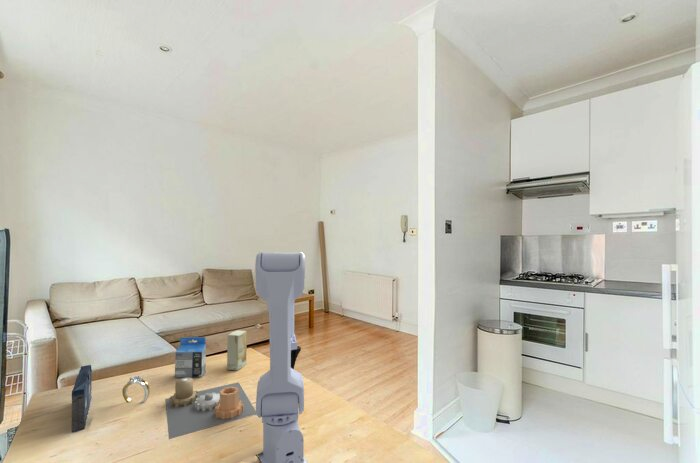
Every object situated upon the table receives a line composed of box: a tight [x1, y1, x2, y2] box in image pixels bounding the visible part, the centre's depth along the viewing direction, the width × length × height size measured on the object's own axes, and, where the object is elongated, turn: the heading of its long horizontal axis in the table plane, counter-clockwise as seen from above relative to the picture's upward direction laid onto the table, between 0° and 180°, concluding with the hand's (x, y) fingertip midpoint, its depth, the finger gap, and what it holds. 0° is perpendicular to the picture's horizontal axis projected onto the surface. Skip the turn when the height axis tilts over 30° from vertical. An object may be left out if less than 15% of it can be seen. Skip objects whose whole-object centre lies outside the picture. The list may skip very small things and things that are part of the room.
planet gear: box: [215, 387, 243, 419], centre depth 86 cm, size 7×7×6 cm
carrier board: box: [164, 377, 256, 440], centre depth 89 cm, size 21×20×7 cm
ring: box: [121, 375, 151, 404], centre depth 91 cm, size 7×3×8 cm, turn 82°
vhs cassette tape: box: [71, 364, 93, 433], centre depth 87 cm, size 18×3×10 cm, turn 33°
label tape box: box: [174, 336, 207, 379], centre depth 111 cm, size 9×4×12 cm, turn 94°
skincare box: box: [226, 330, 248, 371], centre depth 118 cm, size 6×4×12 cm
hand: (283, 368), depth 91 cm, fingers open, 7 cm apart
